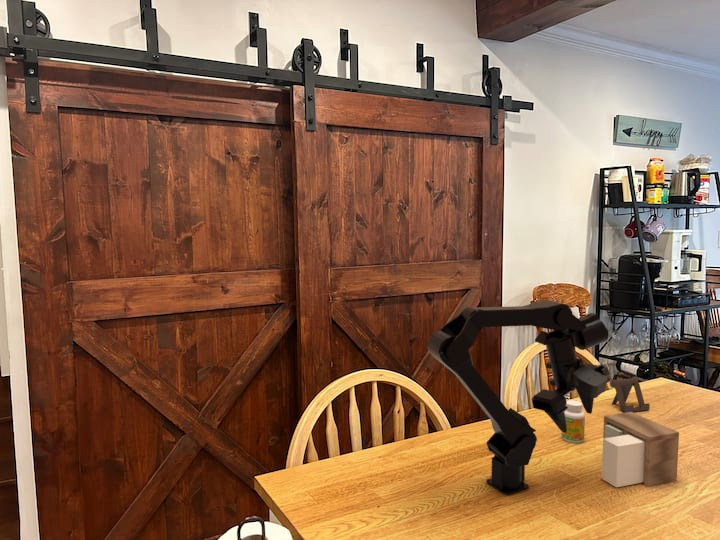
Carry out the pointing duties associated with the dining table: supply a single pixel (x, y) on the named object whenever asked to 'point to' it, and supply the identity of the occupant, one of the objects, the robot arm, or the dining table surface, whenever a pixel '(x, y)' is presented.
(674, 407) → the dining table surface
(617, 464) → the white plug
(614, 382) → the portable electronic device stand
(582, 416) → the supplement bottle
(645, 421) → the walnut housing
